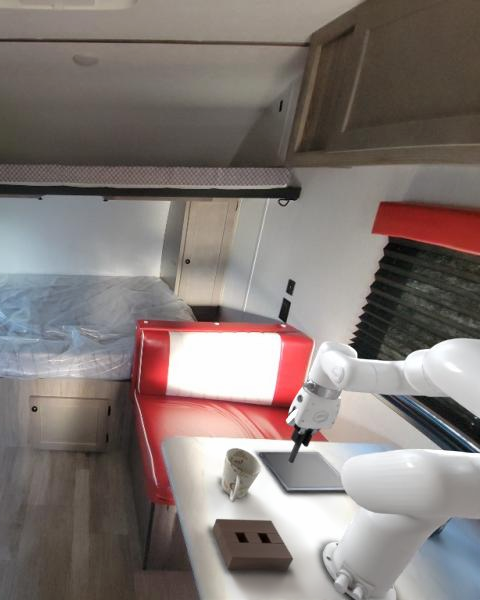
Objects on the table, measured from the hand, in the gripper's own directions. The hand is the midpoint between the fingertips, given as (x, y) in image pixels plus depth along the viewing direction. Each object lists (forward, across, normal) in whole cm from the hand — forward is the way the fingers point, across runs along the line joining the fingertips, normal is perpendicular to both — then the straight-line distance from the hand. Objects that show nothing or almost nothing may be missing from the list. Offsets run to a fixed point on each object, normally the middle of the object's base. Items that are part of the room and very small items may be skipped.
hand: (299, 442), depth 92 cm
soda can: (+12, +27, -14) cm, 33 cm away
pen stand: (+12, -23, -22) cm, 33 cm away
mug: (+12, -20, -8) cm, 24 cm away
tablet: (+11, +6, +1) cm, 13 cm away
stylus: (+8, 0, 0) cm, 8 cm away
